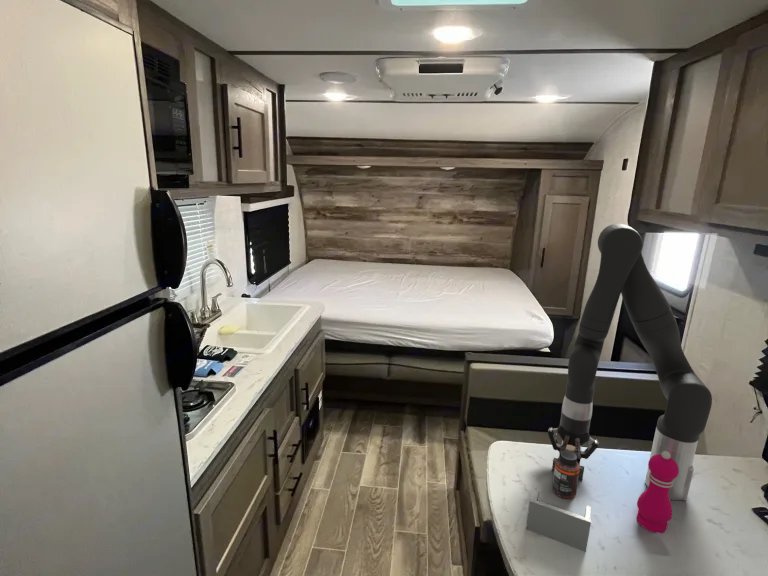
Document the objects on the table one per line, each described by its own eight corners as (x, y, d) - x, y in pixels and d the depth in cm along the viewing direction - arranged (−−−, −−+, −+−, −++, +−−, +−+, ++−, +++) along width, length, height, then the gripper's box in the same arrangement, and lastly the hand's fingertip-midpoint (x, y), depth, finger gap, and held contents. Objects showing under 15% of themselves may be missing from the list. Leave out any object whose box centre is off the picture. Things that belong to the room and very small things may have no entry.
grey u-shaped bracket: (588, 518, 105) (593, 491, 103) (585, 551, 96) (590, 522, 94) (533, 499, 111) (537, 473, 109) (525, 529, 102) (529, 500, 100)
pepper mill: (639, 507, 109) (653, 438, 104) (672, 523, 104) (688, 452, 99) (630, 522, 104) (644, 451, 99) (664, 540, 99) (681, 466, 94)
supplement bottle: (571, 484, 117) (577, 448, 114) (579, 500, 111) (585, 463, 108) (549, 482, 117) (554, 447, 114) (555, 498, 112) (560, 461, 109)
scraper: (584, 465, 125) (587, 447, 123) (582, 480, 118) (585, 462, 117) (555, 456, 128) (557, 439, 127) (551, 471, 122) (554, 452, 120)
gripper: (604, 412, 119) (595, 466, 124) (551, 399, 126) (544, 450, 130) (604, 426, 113) (594, 481, 117) (548, 411, 119) (541, 464, 124)
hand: (568, 465), depth 124 cm, fingers closed on scraper, 3 cm apart
